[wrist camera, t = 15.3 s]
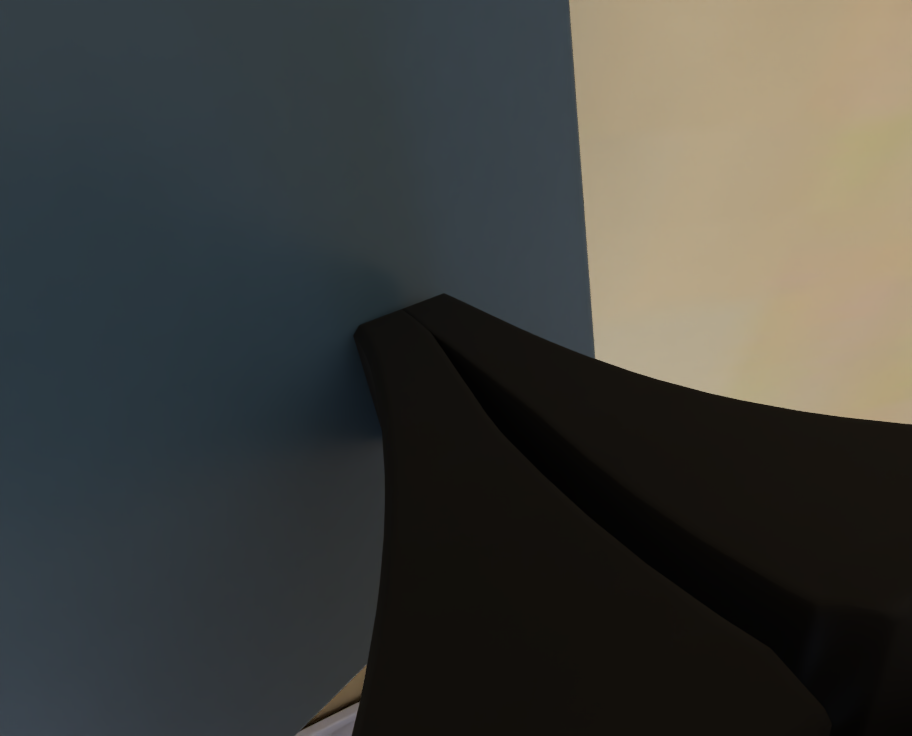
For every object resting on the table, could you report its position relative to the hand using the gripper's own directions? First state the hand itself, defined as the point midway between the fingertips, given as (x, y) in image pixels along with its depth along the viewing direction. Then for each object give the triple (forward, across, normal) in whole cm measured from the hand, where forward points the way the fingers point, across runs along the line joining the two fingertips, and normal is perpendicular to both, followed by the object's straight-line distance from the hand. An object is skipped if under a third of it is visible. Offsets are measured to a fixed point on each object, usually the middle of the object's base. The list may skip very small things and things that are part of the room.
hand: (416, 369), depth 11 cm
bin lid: (0, +2, -1) cm, 2 cm away
